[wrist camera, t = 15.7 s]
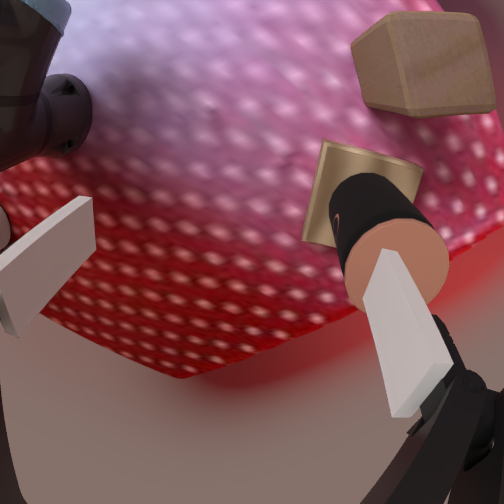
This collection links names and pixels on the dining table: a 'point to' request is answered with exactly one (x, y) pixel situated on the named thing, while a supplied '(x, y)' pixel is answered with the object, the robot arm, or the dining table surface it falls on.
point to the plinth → (340, 168)
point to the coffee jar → (383, 235)
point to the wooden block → (425, 65)
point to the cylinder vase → (4, 229)
